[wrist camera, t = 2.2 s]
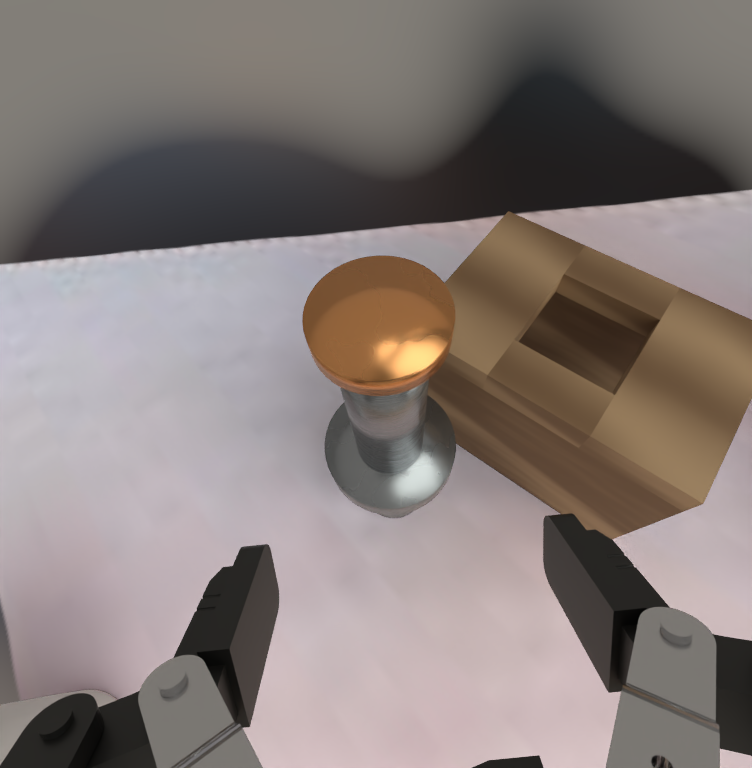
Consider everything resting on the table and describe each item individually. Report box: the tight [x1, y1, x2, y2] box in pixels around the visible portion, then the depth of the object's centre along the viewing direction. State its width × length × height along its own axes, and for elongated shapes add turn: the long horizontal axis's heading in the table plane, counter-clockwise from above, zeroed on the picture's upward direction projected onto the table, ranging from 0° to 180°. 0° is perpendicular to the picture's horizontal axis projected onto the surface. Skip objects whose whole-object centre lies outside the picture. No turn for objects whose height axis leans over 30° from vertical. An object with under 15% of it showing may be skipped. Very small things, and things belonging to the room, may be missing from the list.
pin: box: [303, 256, 456, 518], centre depth 22 cm, size 7×7×20 cm
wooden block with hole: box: [427, 211, 752, 539], centre depth 29 cm, size 11×16×11 cm
